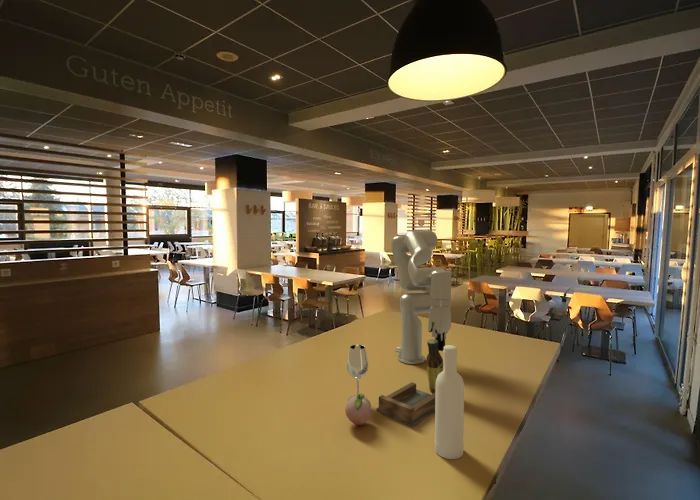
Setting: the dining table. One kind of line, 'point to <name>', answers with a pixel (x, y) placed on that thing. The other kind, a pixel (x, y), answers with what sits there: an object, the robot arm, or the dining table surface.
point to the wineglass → (357, 363)
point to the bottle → (449, 408)
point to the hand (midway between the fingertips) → (440, 349)
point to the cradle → (407, 404)
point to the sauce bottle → (433, 363)
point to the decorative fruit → (358, 409)
